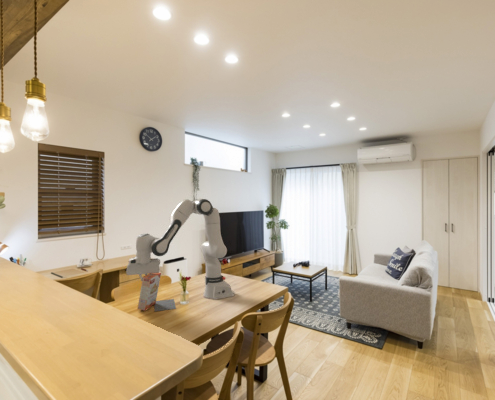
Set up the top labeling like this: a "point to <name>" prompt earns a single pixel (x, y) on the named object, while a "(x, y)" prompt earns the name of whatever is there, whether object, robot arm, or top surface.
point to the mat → (164, 305)
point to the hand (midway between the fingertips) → (143, 280)
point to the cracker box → (149, 291)
